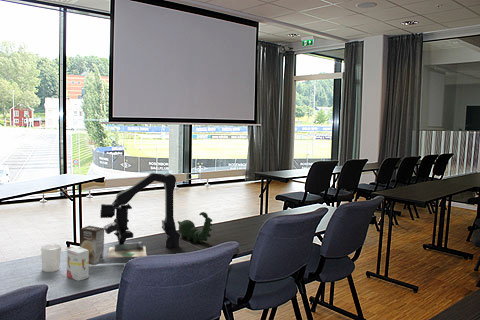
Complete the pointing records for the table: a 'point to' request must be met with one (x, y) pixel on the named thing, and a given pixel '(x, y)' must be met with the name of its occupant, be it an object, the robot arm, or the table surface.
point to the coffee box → (93, 243)
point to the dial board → (126, 252)
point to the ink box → (77, 263)
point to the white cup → (51, 257)
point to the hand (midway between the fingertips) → (120, 247)
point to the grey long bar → (128, 246)
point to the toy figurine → (195, 229)
